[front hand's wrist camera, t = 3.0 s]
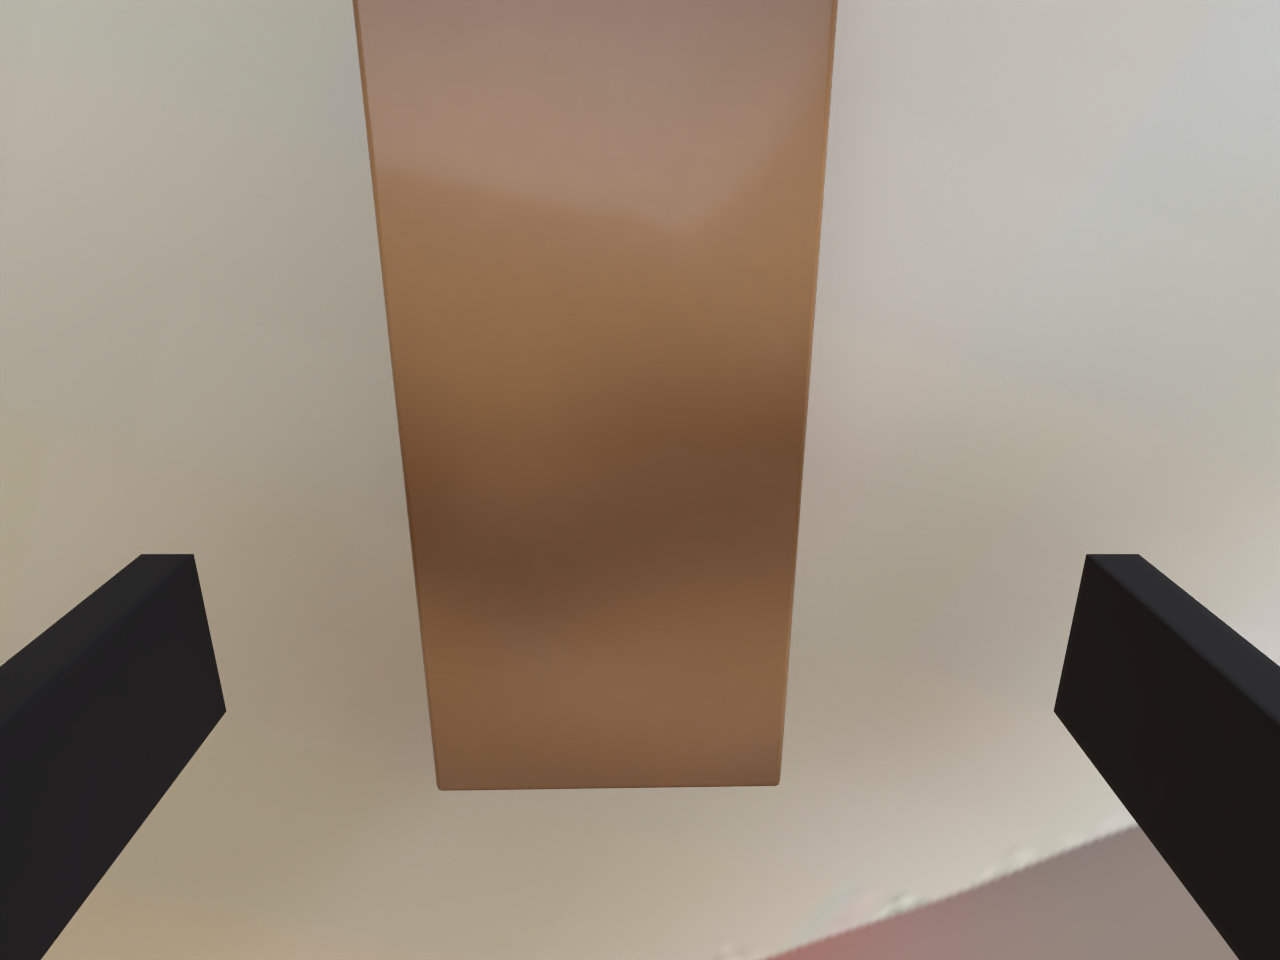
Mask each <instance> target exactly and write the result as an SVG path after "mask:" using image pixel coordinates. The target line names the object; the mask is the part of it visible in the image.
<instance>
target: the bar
mask: <svg viewBox="0 0 1280 960" xmlns="http://www.w3.org/2000/svg"><path fill="white" fill-rule="evenodd" d="M837 5H838V0H353V9H354V19H355V28H356V37H357V47H358V56H359V65H360V74H361V84H362V93H363V102H364V112H365V121H366V130H367V140H368V149H369V158H370V167H371V177H372V186H373V195H374V205H375V214H376V223H377V233H378V242H379V251H380V260H381V270H382V279H383V288H384V298H385V307H386V316H387V326H388V335H389V344H390V353H391V363H392V372H393V381H394V391H395V400H396V409H397V419H398V428H399V437H400V446H401V456H402V465H403V474H404V484H405V493H406V502H407V512H408V521H409V530H410V539H411V549H412V558H413V567H414V577H415V586H416V595H417V605H418V614H419V623H420V632H421V642H422V651H423V660H424V670H425V679H426V688H427V698H428V707H429V716H430V725H431V735H432V744H433V753H434V763H435V772H436V781H437V787H438V789H439V790H510V789H581V788H651V787H721V786H776V785H778V784H779V781H780V774H781V760H782V747H783V733H784V720H785V706H786V693H787V679H788V666H789V653H790V639H791V626H792V612H793V599H794V585H795V572H796V558H797V545H798V531H799V518H800V504H801V491H802V477H803V464H804V450H805V437H806V423H807V410H808V396H809V383H810V369H811V356H812V342H813V329H814V316H815V302H816V289H817V275H818V262H819V248H820V235H821V221H822V208H823V194H824V181H825V167H826V154H827V140H828V127H829V113H830V100H831V86H832V73H833V59H834V46H835V32H836V19H837Z"/></svg>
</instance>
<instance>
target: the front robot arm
mask: <svg viewBox="0 0 1280 960" xmlns="http://www.w3.org/2000/svg"><path fill="white" fill-rule="evenodd" d="M225 712H226V708H225V703H224V698H223V693H222V689H221V684H220V679H219V674H218V669H217V665H216V660H215V655H214V650H213V645H212V640H211V636H210V631H209V626H208V621H207V616H206V612H205V607H204V602H203V597H202V592H201V588H200V583H199V578H198V573H197V568H196V564H195V559H194V554H141V555H140V556H139V557H137V558H136V559H135V560H134V561H132V562H131V563H130V564H129V565H127V566H126V567H125V568H124V569H122V570H121V571H120V572H119V573H117V574H116V575H115V576H114V577H112V578H111V579H110V580H109V581H107V582H106V583H105V584H104V585H102V586H101V587H100V588H99V589H97V590H96V591H95V592H93V593H92V594H91V595H90V596H88V597H87V598H86V599H85V600H83V601H82V602H81V603H80V604H78V605H77V606H76V607H75V608H73V609H72V610H71V611H70V612H68V613H67V614H66V615H65V616H63V617H62V618H61V619H60V620H58V621H57V622H56V623H55V624H53V625H52V626H51V627H50V628H48V629H47V630H46V631H45V632H43V633H42V634H41V635H39V636H38V637H37V638H36V639H34V640H33V641H32V642H31V643H29V644H28V645H27V646H26V647H24V648H23V649H22V650H21V651H19V652H18V653H17V654H16V655H14V656H13V657H12V658H11V659H9V660H8V661H7V662H6V663H4V664H3V665H2V666H1V667H0V960H41V959H42V957H43V956H44V955H45V953H46V952H47V951H48V949H49V948H50V947H51V945H52V944H53V943H54V941H55V940H56V939H57V937H58V936H59V935H60V933H61V932H62V930H63V929H64V928H65V926H66V925H67V924H68V922H69V921H70V920H71V918H72V917H73V916H74V914H75V913H76V912H77V910H78V909H79V908H80V906H81V905H82V904H83V902H84V901H85V900H86V898H87V897H88V896H89V894H90V893H91V892H92V890H93V889H94V888H95V886H96V885H97V884H98V882H99V881H100V880H101V878H102V877H103V876H104V874H105V873H106V872H107V870H108V869H109V868H110V866H111V865H112V864H113V862H114V861H115V860H116V858H117V857H118V856H119V854H120V853H121V851H122V850H123V849H124V847H125V846H126V845H127V843H128V842H129V841H130V839H131V838H132V837H133V835H134V834H135V833H136V831H137V830H138V829H139V827H140V826H141V825H142V823H143V822H144V821H145V819H146V818H147V817H148V815H149V814H150V813H151V811H152V810H153V809H154V807H155V806H156V805H157V803H158V802H159V801H160V799H161V798H162V797H163V795H164V794H165V793H166V791H167V790H168V789H169V787H170V786H171V785H172V783H173V782H174V781H175V779H176V778H177V777H178V775H179V774H180V773H181V771H182V770H183V768H184V767H185V766H186V764H187V763H188V762H189V760H190V759H191V758H192V756H193V755H194V754H195V752H196V751H197V750H198V748H199V747H200V746H201V744H202V743H203V742H204V740H205V739H206V738H207V736H208V735H209V734H210V732H211V731H212V730H213V728H214V727H215V726H216V724H217V723H218V722H219V720H220V719H221V718H222V716H223V715H224V714H225ZM1054 712H1055V714H1056V715H1057V716H1058V718H1059V719H1060V720H1061V722H1062V723H1063V724H1064V726H1065V727H1066V728H1067V730H1068V731H1069V732H1070V734H1071V735H1072V736H1073V738H1074V739H1075V740H1076V742H1077V743H1078V744H1079V746H1080V747H1081V748H1082V750H1083V751H1084V752H1085V754H1086V755H1087V756H1088V758H1089V759H1090V760H1091V762H1092V763H1093V764H1094V766H1095V767H1096V768H1097V770H1098V771H1099V773H1100V774H1101V775H1102V777H1103V778H1104V779H1105V781H1106V782H1107V783H1108V785H1109V786H1110V787H1111V789H1112V790H1113V791H1114V793H1115V794H1116V795H1117V797H1118V798H1119V799H1120V801H1121V802H1122V803H1123V805H1124V806H1125V807H1126V809H1127V810H1128V811H1129V813H1130V814H1131V815H1132V817H1133V818H1134V819H1135V821H1136V822H1137V823H1138V825H1139V826H1140V827H1141V829H1142V830H1143V831H1144V833H1145V834H1146V835H1147V837H1148V838H1149V839H1150V841H1151V842H1152V843H1153V845H1154V846H1155V847H1156V849H1157V850H1158V851H1159V853H1160V854H1161V856H1162V857H1163V858H1164V860H1165V861H1166V862H1167V864H1168V865H1169V866H1170V868H1171V869H1172V870H1173V872H1174V873H1175V874H1176V876H1177V877H1178V878H1179V880H1180V881H1181V882H1182V884H1183V885H1184V886H1185V888H1186V889H1187V890H1188V892H1189V893H1190V894H1191V896H1192V897H1193V898H1194V900H1195V901H1196V902H1197V904H1198V905H1199V906H1200V908H1201V909H1202V910H1203V912H1204V913H1205V914H1206V916H1207V917H1208V918H1209V920H1210V921H1211V922H1212V924H1213V925H1214V926H1215V928H1216V929H1217V930H1218V932H1219V933H1220V934H1221V936H1222V937H1223V939H1224V940H1225V941H1226V943H1227V944H1228V945H1229V947H1230V948H1231V949H1232V951H1233V952H1234V953H1235V955H1236V956H1237V957H1238V959H1239V960H1280V667H1279V666H1278V665H1277V664H1276V663H1274V662H1273V661H1272V660H1271V659H1269V658H1268V657H1267V656H1266V655H1264V654H1263V653H1262V652H1261V651H1259V650H1258V649H1257V648H1256V647H1254V646H1253V645H1252V644H1251V643H1249V642H1248V641H1247V640H1246V639H1244V638H1243V637H1242V636H1241V635H1239V634H1238V633H1237V632H1235V631H1234V630H1233V629H1232V628H1230V627H1229V626H1228V625H1227V624H1225V623H1224V622H1223V621H1222V620H1220V619H1219V618H1218V617H1217V616H1215V615H1214V614H1213V613H1212V612H1210V611H1209V610H1208V609H1207V608H1205V607H1204V606H1203V605H1202V604H1200V603H1199V602H1198V601H1197V600H1195V599H1194V598H1193V597H1192V596H1190V595H1189V594H1188V593H1187V592H1185V591H1184V590H1183V589H1181V588H1180V587H1179V586H1178V585H1176V584H1175V583H1174V582H1173V581H1171V580H1170V579H1169V578H1168V577H1166V576H1165V575H1164V574H1163V573H1161V572H1160V571H1159V570H1158V569H1156V568H1155V567H1154V566H1153V565H1151V564H1150V563H1149V562H1148V561H1146V560H1145V559H1144V558H1143V557H1141V556H1140V555H1139V554H1086V559H1085V564H1084V568H1083V573H1082V578H1081V583H1080V588H1079V592H1078V597H1077V602H1076V607H1075V612H1074V616H1073V621H1072V626H1071V631H1070V636H1069V641H1068V645H1067V650H1066V655H1065V660H1064V665H1063V669H1062V674H1061V679H1060V684H1059V689H1058V693H1057V698H1056V703H1055V708H1054Z"/></svg>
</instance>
